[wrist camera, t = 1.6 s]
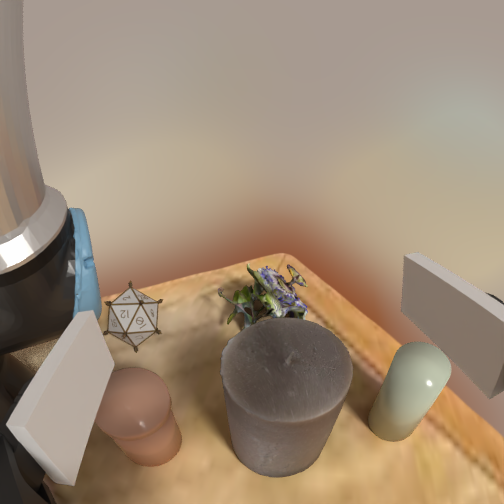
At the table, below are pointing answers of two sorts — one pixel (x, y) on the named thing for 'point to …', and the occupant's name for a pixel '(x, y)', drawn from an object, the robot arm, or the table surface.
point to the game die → (133, 317)
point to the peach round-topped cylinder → (139, 416)
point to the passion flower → (269, 296)
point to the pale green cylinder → (408, 390)
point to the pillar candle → (283, 393)
